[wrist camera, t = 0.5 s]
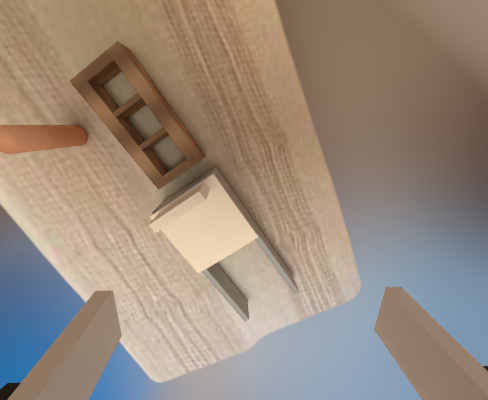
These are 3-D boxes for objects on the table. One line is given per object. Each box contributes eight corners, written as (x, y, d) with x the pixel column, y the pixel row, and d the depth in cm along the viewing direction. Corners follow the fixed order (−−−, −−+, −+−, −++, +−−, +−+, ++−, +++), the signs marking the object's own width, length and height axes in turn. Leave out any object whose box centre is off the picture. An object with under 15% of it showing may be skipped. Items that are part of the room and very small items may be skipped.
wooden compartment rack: (85, 85, 29) (69, 81, 26) (129, 49, 28) (117, 41, 25) (165, 184, 33) (158, 189, 30) (205, 156, 32) (202, 159, 29)
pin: (62, 132, 30) (-17, 135, 21) (76, 121, 30) (2, 119, 20) (77, 149, 31) (7, 159, 21) (91, 138, 30) (26, 143, 21)
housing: (161, 203, 34) (151, 213, 30) (215, 166, 32) (213, 171, 29) (243, 302, 40) (244, 321, 36) (292, 275, 39) (298, 291, 35)
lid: (151, 214, 30) (136, 230, 25) (213, 173, 28) (209, 181, 24) (199, 270, 33) (193, 293, 28) (257, 234, 31) (261, 253, 27)
